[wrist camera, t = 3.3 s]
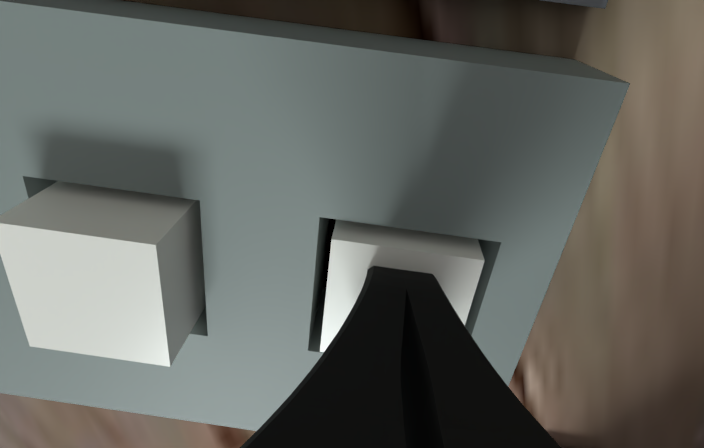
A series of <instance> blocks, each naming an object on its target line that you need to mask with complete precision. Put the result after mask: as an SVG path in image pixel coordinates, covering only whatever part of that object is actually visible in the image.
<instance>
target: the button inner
mask: <svg viewBox="0 0 704 448" xmlns="http://www.w3.org/2000/svg"><path fill="white" fill-rule="evenodd" d="M484 261H485V260H484V257H483V254H482V251H481V247H480V244H479V241H478V239H474V238H467V237H459V236H452V235H445V234H438V233H431V232H423V231H416V230H409V229H402V228H395V227H387V226H380V225H373V224H366V223H358V222H351V221H344V220H337V219H336V223H335V227H334V231H333V235H332V239H331V249H330V258H329V268H328V277H327V287H326V296H325V306H324V316H323V325H322V335H321V344H320V352H325V350H326V349H327V347H328V346H329V344H330V343H331V342H332V340H333V339H334V337H335V336H336V334H337V333H338V331H339V330H340V328H341V327H342V325H343V323H344V322H345V320H346V318H347V316H348V315H349V313H350V311H351V309H352V308H353V306H354V304H355V302H356V300H357V298H358V296H359V294H360V292H361V290H362V287H363V285H364V282H365V279H366V276H367V269H369V268H371V267H372V266H380V267H387V268H394V269H401V270H409V271H416V272H423V273H430V274H433V275H434V276H435V278H436V279H437V281H438V282H439V284H440V286H441V288H442V289H443V291H444V293H445V295H446V296H447V298H448V300H449V301H450V303H451V305H452V306H453V308H454V310H455V311H456V313H457V314H458V316H459V318H460V319H461V321H462V322H463V324H464V326H465V323H466V320H467V317H468V313H469V310H470V307H471V304H472V300H473V297H474V294H475V291H476V287H477V284H478V281H479V278H480V274H481V271H482V268H483V265H484Z"/></svg>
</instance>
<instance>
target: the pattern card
mask: <svg viewBox="0 0 704 448" xmlns="http://www.w3.org/2000/svg"><path fill="white" fill-rule="evenodd" d="M541 1H549V2H557V3H565V4H573V5H580V6H588V7H596V8H604V9H605V8H606V5H607V2H608V0H541Z"/></svg>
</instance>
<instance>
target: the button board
mask: <svg viewBox="0 0 704 448" xmlns="http://www.w3.org/2000/svg"><path fill="white" fill-rule="evenodd" d="M629 85H630V83H628V82H625V81H623V80H621V79H618V78H616V77H614V76H612V75H609V74H607V73H605V72H602V71H600V70H598V69H595V68H593V67H591V66H589V65H586V64H584V63H582V62H579V61H577V60H574V59H566V58H559V57H551V56H543V55H536V54H528V53H520V52H513V51H505V50H497V49H490V48H482V47H474V46H467V45H459V44H451V43H444V42H436V41H428V40H421V39H413V38H405V37H398V36H390V35H382V34H375V33H367V32H359V31H352V30H344V29H336V28H329V27H321V26H313V25H306V24H298V23H290V22H283V21H275V20H267V19H260V18H252V17H244V16H237V15H229V14H221V13H214V12H206V11H198V10H191V9H183V8H175V7H168V6H160V5H152V4H145V3H137V2H129V1H122V0H0V215H2V214H4V213H5V212H7V211H9V210H10V209H12V208H14V207H15V206H17V205H19V204H20V203H22V202H24V201H25V200H27V199H29V198H31V197H32V196H34V195H36V194H37V193H39V192H41V191H42V190H44V189H46V188H47V187H49V186H51V185H52V184H54V183H56V182H57V181H63V182H70V183H77V184H84V185H92V186H99V187H106V188H113V189H120V190H128V191H135V192H142V193H149V194H157V195H164V196H171V197H178V198H185V199H193V200H200V212H201V229H202V246H203V263H204V280H205V297H206V306H205V308H204V310H203V311H202V313H201V315H200V316H199V318H198V320H197V322H196V323H195V325H194V327H193V329H192V330H191V332H190V334H189V335H188V337H187V339H186V341H185V342H184V344H183V346H182V347H181V349H180V351H179V353H178V354H177V356H176V358H175V360H174V361H173V363H172V365H171V366H170V367H168V366H161V365H154V364H147V363H141V362H134V361H127V360H120V359H113V358H106V357H99V356H93V355H86V354H79V353H72V352H65V351H58V350H51V349H45V348H38V347H31V346H29V342H28V339H27V336H26V333H25V330H24V327H23V324H22V321H21V317H20V314H19V311H18V308H17V305H16V302H15V299H14V296H13V293H12V289H11V286H10V283H9V280H8V277H7V274H6V271H5V268H4V264H3V261H2V258H1V255H0V393H4V394H11V395H18V396H25V397H31V398H38V399H45V400H51V401H58V402H65V403H72V404H78V405H85V406H92V407H99V408H105V409H112V410H119V411H126V412H132V413H139V414H146V415H153V416H159V417H166V418H173V419H180V420H186V421H193V422H200V423H207V424H213V425H220V426H227V427H234V428H240V429H247V430H254V431H257V430H258V429H259V428H260V427H261V426H262V425H263V424H264V423H265V422H266V421H267V420H268V419H269V418H270V417H271V415H272V414H273V413H274V412H275V411H276V410H277V409H278V408H279V407H280V406H281V405H282V404H283V403H284V401H285V400H286V399H287V398H288V397H289V396H290V395H291V394H292V392H293V391H294V390H295V389H296V388H297V386H298V385H299V384H300V383H301V382H302V380H303V379H304V378H305V377H306V376H307V374H308V373H309V372H310V371H311V369H312V368H313V367H314V365H315V364H316V363H317V361H318V360H319V359H320V357H321V356H322V355H323V353H324V352H320V344H321V335H322V325H323V316H324V306H325V296H326V288H324V287H323V279H324V269H325V259H326V249H327V239H328V229H329V219H337V220H344V221H351V222H358V223H366V224H373V225H380V226H387V227H395V228H402V229H409V230H416V231H423V232H431V233H438V234H445V235H452V236H459V237H467V238H474V239H478V241H479V244H480V247H481V251H482V254H483V257H484V260H485V261H484V265H483V268H482V271H481V274H480V278H479V281H478V284H477V287H476V291H475V294H474V297H473V300H472V304H471V307H470V310H469V313H468V317H467V320H466V323H465V327H466V329H467V330H468V332H469V333H470V335H471V336H472V337H473V339H474V340H475V342H476V343H477V345H478V346H479V348H480V349H481V351H482V352H483V354H484V355H485V356H486V358H487V359H488V361H489V362H490V363H491V365H492V366H493V368H494V369H495V370H496V371H497V373H498V374H499V375H500V377H501V378H502V379H503V381H504V382H505V383H506V385H507V386H508V385H509V383H510V380H511V378H512V375H513V373H514V370H515V368H516V365H517V363H518V361H519V358H520V356H521V353H522V351H523V348H524V346H525V343H526V341H527V338H528V336H529V333H530V331H531V328H532V326H533V323H534V321H535V318H536V316H537V313H538V311H539V308H540V306H541V303H542V301H543V298H544V296H545V293H546V291H547V289H548V286H549V284H550V281H551V279H552V276H553V274H554V271H555V269H556V266H557V264H558V261H559V259H560V256H561V254H562V251H563V249H564V246H565V244H566V241H567V239H568V236H569V234H570V231H571V229H572V226H573V224H574V221H575V219H576V217H577V214H578V212H579V209H580V207H581V204H582V202H583V199H584V197H585V194H586V192H587V189H588V187H589V184H590V182H591V179H592V177H593V174H594V172H595V169H596V167H597V164H598V162H599V159H600V157H601V154H602V152H603V149H604V147H605V145H606V142H607V140H608V137H609V135H610V132H611V130H612V127H613V125H614V122H615V120H616V117H617V115H618V112H619V110H620V107H621V105H622V102H623V100H624V97H625V95H626V92H627V90H628V87H629Z"/></svg>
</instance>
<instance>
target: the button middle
mask: <svg viewBox="0 0 704 448" xmlns="http://www.w3.org/2000/svg"><path fill="white" fill-rule="evenodd" d="M0 255H1V258H2V261H3V264H4V268H5V271H6V274H7V277H8V280H9V283H10V286H11V289H12V293H13V296H14V299H15V302H16V305H17V308H18V311H19V314H20V317H21V321H22V324H23V327H24V330H25V333H26V336H27V339H28V342H29V346H31V347H38V348H45V349H51V350H58V351H65V352H72V353H79V354H86V355H93V356H99V357H106V358H113V359H120V360H127V361H134V362H141V363H147V364H154V365H161V366H168V367H170V366H171V365H172V363H173V361H174V360H175V358H176V356H177V354H178V353H179V351H180V349H181V347H182V346H183V344H184V342H185V341H186V339H187V337H188V335H189V334H190V332H191V330H192V329H193V327H194V325H195V323H196V322H197V320H198V318H199V316H200V315H201V313H202V311H203V310H204V308H205V306H206V297H205V280H204V263H203V246H202V229H201V212H200V200H193V199H185V198H178V197H171V196H164V195H157V194H149V193H142V192H135V191H128V190H120V189H113V188H106V187H99V186H92V185H84V184H77V183H70V182H63V181H57V182H56V183H54V184H52V185H51V186H49V187H47V188H46V189H44V190H42V191H41V192H39V193H37V194H36V195H34V196H32V197H31V198H29V199H27V200H25V201H24V202H22V203H20V204H19V205H17V206H15V207H14V208H12V209H10V210H9V211H7V212H5V213H4V214H2V215H0Z"/></svg>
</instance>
